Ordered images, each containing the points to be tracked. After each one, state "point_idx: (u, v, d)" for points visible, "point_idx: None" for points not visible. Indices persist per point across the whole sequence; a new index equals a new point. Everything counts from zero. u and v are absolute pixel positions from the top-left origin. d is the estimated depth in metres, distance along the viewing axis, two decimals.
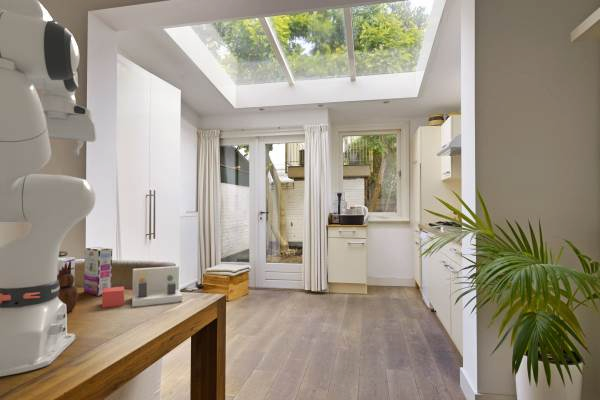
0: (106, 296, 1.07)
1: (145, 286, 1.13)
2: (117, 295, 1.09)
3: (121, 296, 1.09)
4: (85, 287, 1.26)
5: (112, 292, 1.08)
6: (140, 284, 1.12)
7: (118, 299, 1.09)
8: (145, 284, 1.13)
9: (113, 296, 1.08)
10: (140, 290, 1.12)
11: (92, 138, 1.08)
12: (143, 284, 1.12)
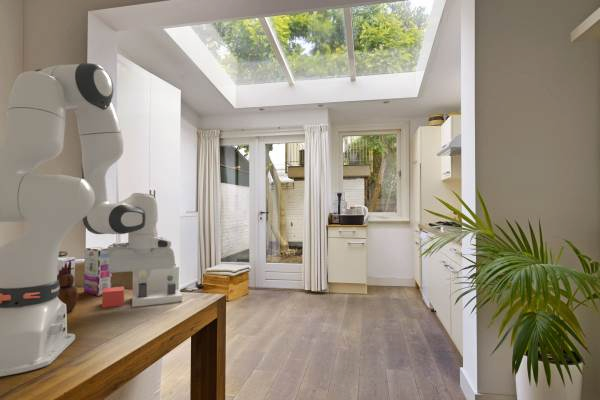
0: (106, 296, 1.07)
1: (145, 288, 1.13)
2: (117, 295, 1.09)
3: (121, 296, 1.09)
4: (85, 287, 1.26)
5: (112, 292, 1.08)
6: (140, 286, 1.12)
7: (118, 299, 1.09)
8: (145, 286, 1.13)
9: (113, 296, 1.08)
10: (140, 292, 1.12)
11: (172, 266, 1.16)
12: (143, 286, 1.12)
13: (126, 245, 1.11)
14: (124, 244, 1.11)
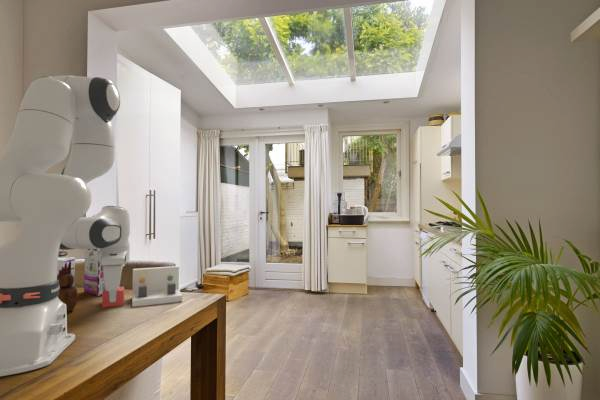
0: (106, 296, 1.07)
1: (145, 290, 1.13)
2: (117, 295, 1.09)
3: (121, 296, 1.09)
4: (85, 287, 1.26)
5: None
6: (140, 288, 1.12)
7: (118, 299, 1.09)
8: (145, 288, 1.13)
9: None
10: (140, 294, 1.12)
11: (105, 289, 1.02)
12: (143, 288, 1.12)
13: None
14: None
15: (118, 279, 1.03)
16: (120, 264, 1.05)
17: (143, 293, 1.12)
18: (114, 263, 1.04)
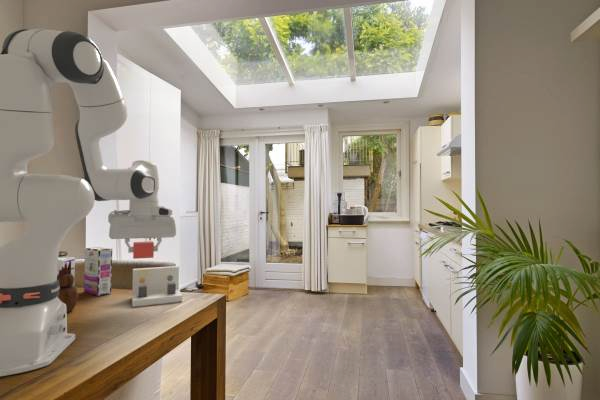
0: (153, 247, 1.13)
1: (145, 290, 1.13)
2: None
3: None
4: (85, 287, 1.26)
5: (153, 243, 1.15)
6: (140, 288, 1.12)
7: None
8: (145, 288, 1.13)
9: None
10: (140, 294, 1.12)
11: (173, 235, 1.16)
12: (143, 288, 1.12)
13: (127, 212, 1.11)
14: (125, 211, 1.11)
15: None
16: None
17: (143, 293, 1.12)
18: None
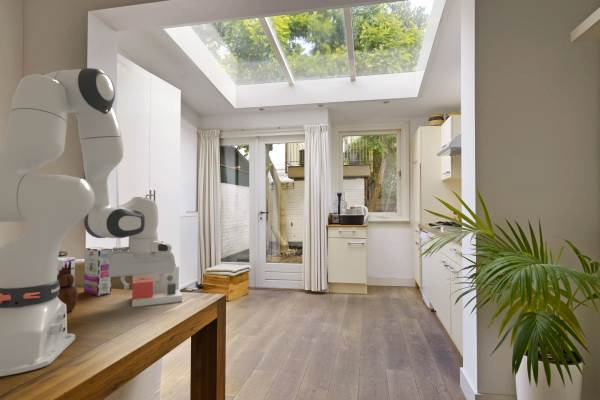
0: (152, 286, 1.13)
1: None
2: None
3: None
4: (85, 287, 1.26)
5: (152, 282, 1.14)
6: None
7: None
8: None
9: None
10: None
11: (173, 271, 1.16)
12: None
13: (126, 249, 1.11)
14: (124, 248, 1.11)
15: None
16: None
17: None
18: None
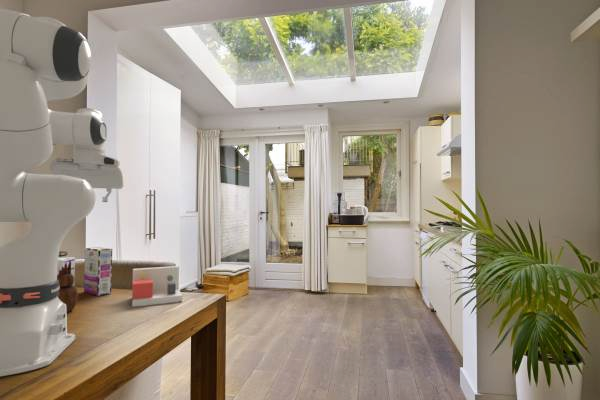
0: (152, 286, 1.13)
1: None
2: None
3: None
4: (85, 287, 1.26)
5: (152, 282, 1.14)
6: None
7: None
8: None
9: None
10: None
11: (120, 186, 1.14)
12: None
13: (71, 161, 1.09)
14: (69, 160, 1.09)
15: None
16: (118, 166, 1.17)
17: None
18: None
